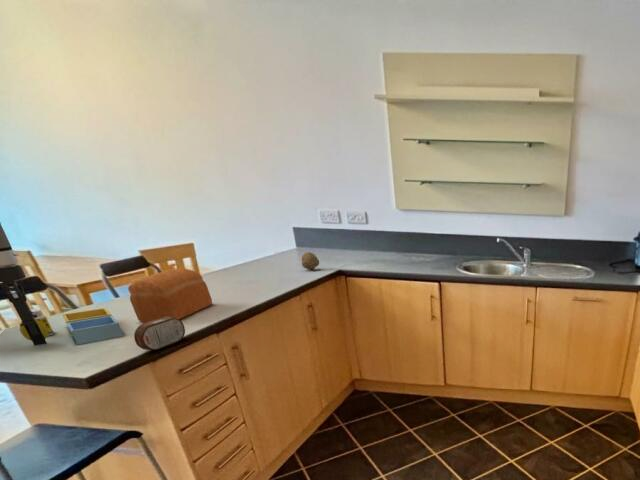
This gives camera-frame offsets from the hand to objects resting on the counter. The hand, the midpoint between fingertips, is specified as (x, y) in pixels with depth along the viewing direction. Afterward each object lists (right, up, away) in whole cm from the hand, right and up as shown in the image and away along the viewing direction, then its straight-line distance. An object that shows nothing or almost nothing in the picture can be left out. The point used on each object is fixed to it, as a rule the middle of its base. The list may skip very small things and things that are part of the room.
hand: (39, 341), depth 129 cm
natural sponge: (+32, +52, +110) cm, 126 cm away
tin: (+37, -1, +3) cm, 37 cm away
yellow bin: (-1, +7, +17) cm, 19 cm away
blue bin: (+9, +3, +9) cm, 13 cm away
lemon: (0, 0, 0) cm, 1 cm away
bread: (+17, +15, +33) cm, 40 cm away
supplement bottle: (-9, +3, +9) cm, 13 cm away
